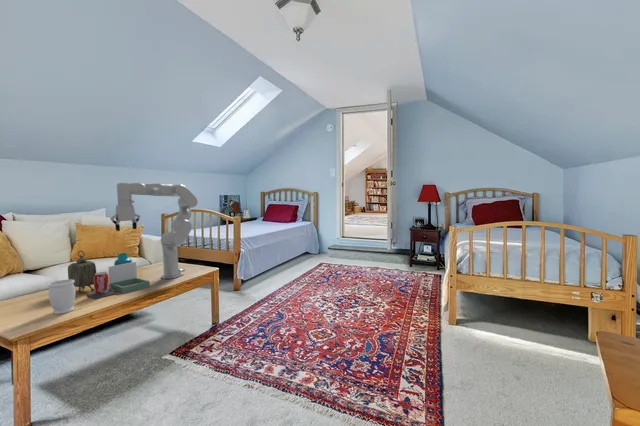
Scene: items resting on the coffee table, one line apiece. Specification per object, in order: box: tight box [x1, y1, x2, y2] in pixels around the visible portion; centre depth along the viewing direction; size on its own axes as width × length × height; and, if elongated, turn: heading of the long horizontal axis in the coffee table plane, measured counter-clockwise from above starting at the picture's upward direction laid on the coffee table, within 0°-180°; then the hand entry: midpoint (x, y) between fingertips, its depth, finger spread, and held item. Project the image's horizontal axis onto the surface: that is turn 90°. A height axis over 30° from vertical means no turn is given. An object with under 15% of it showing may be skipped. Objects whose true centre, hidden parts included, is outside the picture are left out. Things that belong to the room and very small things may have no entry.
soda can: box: [93, 271, 110, 295], centre depth 185 cm, size 7×7×12 cm
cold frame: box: [108, 261, 151, 294], centre depth 198 cm, size 16×17×14 cm
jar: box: [47, 279, 77, 315], centre depth 159 cm, size 11×10×15 cm
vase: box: [113, 252, 133, 266], centre depth 213 cm, size 11×11×19 cm
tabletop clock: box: [67, 250, 97, 293], centre depth 192 cm, size 14×9×25 cm, turn 62°
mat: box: [85, 288, 119, 300], centre depth 186 cm, size 12×12×1 cm
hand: (126, 229), depth 199 cm, fingers open, 9 cm apart
